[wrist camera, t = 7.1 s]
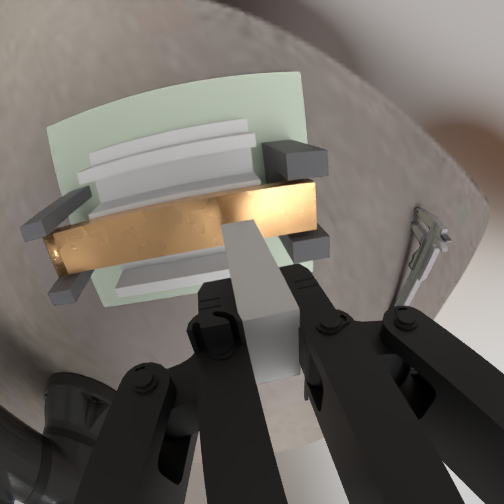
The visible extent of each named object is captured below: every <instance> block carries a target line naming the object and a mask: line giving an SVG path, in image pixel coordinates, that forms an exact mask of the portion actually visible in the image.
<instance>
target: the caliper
mask: <svg viewBox="0 0 504 504" xmlns="http://www.w3.org/2000/svg"><path fill="white" fill-rule="evenodd" d="M414 212H415V213H416V214H417V215H418V216H419V217H420V218H421V219H422V220H423V222H424V223H425V224H426V225H427V226H428V228H429V231H428V232H427V231H426V230H425V229H424V228H423V226H422V225H420V224H419V223H418V222H412V223H411V227H412V229H413V231H414V233H415V235H416V237H417V239H418V242H419V244H420V247H419V249H418V250H417V251H416V252H415V253H414V254H413V257H412V260H411V262H410V263H409V267H410V269H411V270H412V271H411V273H410V275H409V277H408V279H407V281H406V283H405V285H404V288H403V290H402V292H401V294H400V296H399V298H398V300H397V301H396V303H395V305H394V307H395V306H404V305H405V306H409V304H410V302H411V300H412V299H413V297H414V295H415V293H416V291H417V289H418V287H419V285H420V283H421V282H422V280H426V278H427V276H428V274H429V272H430V270H431V268H432V266H433V264H434V262H435V260H436V258H437V256H438V254H439V252H440V250H441V252H445V251H448V248H447V245H446V242H452V240H451V239H450V238H449V236H448V235H447V231H448V228H447V227H446V226H445V225H444V224H443V222H442V221H441V220H440V219H439V218H438V217H437V216H435V215H433V214H432V213H430V212H428V211H427V210H425V209H423V208H416V209H415V210H414Z"/></svg>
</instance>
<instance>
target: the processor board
mask: <svg viewBox="0 0 504 504" xmlns="http://www.w3.org/2000/svg"><path fill="white" fill-rule="evenodd" d="M47 134H48V139H49V145H50V150H51V154H52V159H53V164H54V168H55V172H56V176H57V180H58V184H59V188H60V191H61V195H62V197H61V198H59V199H58V200H56V201H55V202H54V203H52V204H51V205H49V206H48V207H46V208H45V209H44V210H42V211H41V212H39V213H38V214H37V215H35V216H34V217H33V218H31V219H30V220H29V221H27V222H26V223H25V224H24V225H22V226H21V227H20V230H21V233H22V236H23V238H24V241H25V242H28V241H31V240H34V239H37V238H41V237H44V236H47V235H48V234H49V233H50V232H51V231H52V230H53V229H55V228H56V227H57V226H58V225H59V224H60V223H61V222H62V221H64V220H65V219H66V218H67V217H68V218H69V221H70V224H71V225H72V224H75V223H79V222H83V221H86V220H90V219H94V218H98V217H102V216H106V215H110V214H114V213H118V212H122V211H126V210H130V209H135V208H139V207H144V206H148V205H153V204H157V203H162V202H167V201H172V200H177V199H182V198H187V197H192V196H197V195H202V194H208V193H214V192H219V191H225V190H231V189H237V188H243V187H250V186H256V185H263V184H270V183H277V182H284V177H285V178H286V179H287V180H296V179H304V178H309V179H310V178H313V177H322V176H328V155H327V150H325V149H322V148H319V147H315V146H312V145H309V144H308V143H307V131H306V120H305V110H304V101H303V92H302V83H301V75H300V72H273V73H258V74H246V75H236V76H228V77H220V78H213V79H206V80H200V81H194V82H189V83H184V84H179V85H174V86H169V87H165V88H160V89H156V90H152V91H148V92H144V93H141V94H137V95H133V96H130V97H126V98H123V99H120V100H117V101H113V102H110V103H107V104H104V105H101V106H98V107H96V108H93V109H90V110H87V111H85V112H82V113H79V114H77V115H74V116H72V117H69V118H67V119H65V120H62V121H60V122H58V123H55V124H53V125H51V126H49V127H47ZM264 240H265V242H266V244H267V246H268V248H269V250H270V252H271V254H272V256H273V258H274V259H275V261H276V263H277V265H278V267H282V266H287V265H292V264H297V263H299V264H301V265H303V266H304V267H306V268H308V269H309V270H310V272H312V271H313V260H317V259H322V258H327V257H329V249H330V236H329V235H328V234H327V233H326V232H325V231H324V230H323V229H322V227H321V226H320V225H319V224H318V223H317V229H315V230H309V231H303V232H298V233H292V234H286V235H280V236H274V237H268V238H264ZM90 277H91V279H92V282H93V284H94V286H95V289H96V291H97V293H98V295H99V297H100V300H101V302H102V304H103V306H104V307H110V306H117V305H124V304H131V303H138V302H144V301H151V300H157V299H163V298H170V297H176V296H182V295H188V294H194V293H198V291H199V289H200V288H201V286H202V284H203V283H204V282H210V281H215V280H220V279H226V278H230V273H229V268H228V263H227V257H226V252H225V246H224V245H223V246H217V247H212V248H206V249H201V250H195V251H190V252H184V253H179V254H173V255H168V256H162V257H157V258H152V259H146V260H141V261H136V262H130V263H125V264H120V265H115V266H109V267H104V268H99V269H94V270H89V271H84V272H79V273H73V274H69V275H67V276H64V277H59V278H58V280H57V281H56V283H55V284H54V285H53V287H52V288H51V290H50V291H49V293H48V295H49V297H50V299H51V301H52V303H53V305H54V306H56V305H63V304H70V303H76V301H77V299H78V298H79V296H80V294H81V292H82V291H83V289H84V287H85V285H86V284H87V282H88V280H89V278H90Z"/></svg>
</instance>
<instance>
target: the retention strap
mask: <svg viewBox="0 0 504 504" xmlns="http://www.w3.org/2000/svg"><path fill="white" fill-rule="evenodd" d="M251 219H254V221H255V223H256V225H257V227H258V229H259V230H260V232H261V234H262V236H263V238H268V237H274V236H280V235H286V234H292V233H298V232H303V231H309V230H315V229H317V219H316V192H315V182H314V181H312V180H311V179H309V178H304V179H296V180H287V179H286V178H285V177H284V182H277V183H270V184H263V185H256V186H250V187H243V188H237V189H231V190H225V191H219V192H214V193H208V194H202V195H197V196H192V197H187V198H182V199H177V200H172V201H167V202H162V203H157V204H153V205H148V206H144V207H139V208H135V209H130V210H126V211H122V212H118V213H114V214H110V215H106V216H102V217H98V218H94V219H90V220H86V221H83V222H79V223H75V224H72V225H68V226H65V227H61V228H55V229H53V230H52V231H51V232H50V233H49V234H48V235H47V236H44V237H42V238H43V240H44V243H45V246H46V248H47V251H48V253H49V256H50V258H51V260H52V263H53V265H54V267H55V270H56V272H57V274H58V276H59V277H64V276H67V275H69V274H73V273H79V272H84V271H89V270H94V269H99V268H104V267H109V266H115V265H120V264H125V263H130V262H136V261H141V260H146V259H152V258H157V257H162V256H168V255H173V254H179V253H184V252H190V251H195V250H201V249H206V248H212V247H217V246H223V245H224V241H223V235H222V230H221V225H223V224H228V223H234V222H240V221H245V220H251Z"/></svg>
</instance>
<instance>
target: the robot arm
mask: <svg viewBox="0 0 504 504" xmlns="http://www.w3.org/2000/svg"><path fill="white" fill-rule="evenodd" d="M221 230H222V235H223V241H224V246H225V252H226V257H227V263H228V268H229V273H230V278H226V279H220V280H215V281H210V282H204V283H203V284H202V286H201V288H200V289H199V291H198V310H199V311H198V315H196V316H195V317H194V318H193V319H192V320H191V321H190V322H189V323H188V327H187V330H186V331H187V334H188V336H189V339H190V342H191V344H192V347H193V350H194V352H195V353H194V354H193V355H192V356H191V357H190V358H189V359H188V360H186V361H185V362H183V363H181V364H179V365H176V366H174V367H171V368H169V369H166V368H164V367H163V366H162V365H161V364H157V363H153V362H150V363H142V364H139V365H137V366H134V367H133V368H132V369H130V370H129V371H128V372H127V373H126V374H125V376H124V377H123V379H122V381H121V383H120V385H119V387H118V390H117V392H115V391H114V390H112V389H111V388H109V387H107V386H105V385H103V384H101V383H99V382H97V381H95V380H92V379H90V378H87V377H84V376H80V375H76V374H69V373H59V374H55V375H53V376H51V377H50V378H49V379H48V382H47V385H46V387H45V391H44V398H45V427H44V431H43V435H42V434H40V433H39V432H37V431H36V430H34V429H33V428H31V427H30V426H28V425H27V424H25V423H24V422H23V421H21V420H20V419H18V418H17V417H16V416H14V415H13V414H12V413H10V412H9V411H8V410H6V409H5V408H4V407H3V406H1V405H0V504H14V501H15V500H18V501H20V502H22V503H24V504H184V502H185V496H186V491H187V486H188V481H189V476H190V471H191V466H192V461H193V456H194V451H195V446H196V441H197V436H198V432H199V431H200V442H201V453H202V463H203V472H204V481H205V489H206V496H207V504H288V503H287V499H286V496H285V492H284V488H283V485H282V481H281V478H280V474H279V470H278V467H277V463H276V459H275V456H274V452H273V448H272V444H271V440H270V436H269V432H268V429H267V425H266V421H265V417H264V413H263V409H262V405H261V401H260V397H259V393H258V389H257V385H256V384H260V383H265V382H270V381H274V380H278V379H283V378H287V377H291V376H295V375H299V374H300V365H301V368H302V370H303V373H304V375H305V385H304V398H305V401H306V400H308V396H309V399H310V402H311V404H312V407H313V409H314V412H315V415H316V417H317V420H318V422H319V425H320V428H321V430H322V433H323V436H324V438H325V441H326V443H327V446H328V448H329V451H330V454H331V456H332V459H333V462H334V464H335V467H336V469H337V472H338V475H339V477H340V480H341V483H342V485H343V488H344V490H345V493H346V496H347V498H348V501H349V504H465V503H464V501H463V499H462V497H461V495H460V493H459V491H458V490H457V488H456V486H455V484H454V482H453V480H452V478H451V476H450V474H449V473H448V471H447V469H446V467H445V465H444V463H445V464H446V465H447V466H448V467H449V468H450V469H451V470H452V471H453V472H454V473H455V474H456V475H457V476H458V477H459V478H460V479H461V480H462V481H463V482H464V483H465V484H466V485H467V486H468V487H469V488H470V489H471V490H472V491H473V492H474V493H475V494H476V495H477V496H478V497H479V498H480V499H481V500H482V501H483V502H484V503H485V504H504V374H503V373H502V372H500V371H499V370H498V369H497V368H496V367H494V366H493V365H492V364H490V363H489V362H488V361H487V360H485V359H484V358H483V357H482V356H480V355H479V354H478V353H476V352H475V351H474V350H472V349H471V348H470V347H469V346H467V345H466V344H465V343H463V342H462V341H460V340H459V339H458V338H456V337H455V336H454V335H452V334H451V333H450V332H448V331H447V330H446V329H444V328H443V327H442V326H440V325H439V324H438V323H436V322H435V321H433V320H432V319H431V318H429V317H428V316H426V315H425V314H424V313H422V312H421V311H419V310H417V309H415V308H413V307H409V306H405V305H404V306H395V307H392V308H390V309H388V310H387V311H386V312H385V313H384V317H383V320H382V321H368V322H361V321H354V320H353V318H352V317H351V316H350V315H349V314H347V313H345V312H343V311H341V310H336V309H335V308H334V306H333V305H332V303H331V301H330V300H329V298H328V297H327V295H326V294H325V292H324V291H323V289H322V288H321V287H320V285H319V284H318V282H317V281H316V279H314V276H313V275H312V273H311V272H310V270H309V269H308V268H306V267H304V266H303V265H301V264H299V263H297V264H292V265H287V266H282V267H278V265H277V263H276V261H275V259H274V258H273V256H272V254H271V252H270V250H269V248H268V246H267V244H266V242H265V240H264V238H263V236H262V234H261V232H260V230H259V229H258V227H257V225H256V223H255V221H254V219H251V220H245V221H240V222H234V223H228V224H223V225H221ZM442 461H443V462H444V463H443V462H442Z"/></svg>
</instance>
